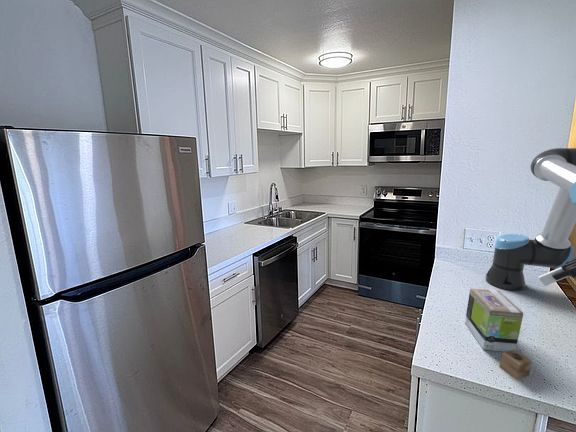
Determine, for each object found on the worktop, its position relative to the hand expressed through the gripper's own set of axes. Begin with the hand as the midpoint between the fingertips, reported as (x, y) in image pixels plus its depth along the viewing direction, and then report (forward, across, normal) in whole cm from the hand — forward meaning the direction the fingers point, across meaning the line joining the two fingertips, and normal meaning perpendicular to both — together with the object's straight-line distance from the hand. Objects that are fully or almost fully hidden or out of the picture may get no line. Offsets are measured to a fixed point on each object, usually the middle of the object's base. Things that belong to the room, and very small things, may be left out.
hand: (542, 281), depth 89 cm
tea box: (+25, +1, -10) cm, 27 cm away
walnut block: (+19, -12, -16) cm, 28 cm away
